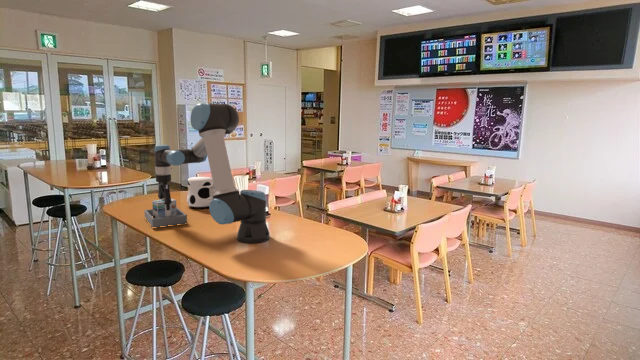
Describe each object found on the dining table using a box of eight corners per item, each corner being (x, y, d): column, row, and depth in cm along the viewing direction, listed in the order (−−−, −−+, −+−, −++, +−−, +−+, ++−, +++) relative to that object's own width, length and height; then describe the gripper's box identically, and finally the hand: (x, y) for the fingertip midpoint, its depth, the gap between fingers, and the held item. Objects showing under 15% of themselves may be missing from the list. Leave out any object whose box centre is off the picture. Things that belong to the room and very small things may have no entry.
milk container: (185, 204, 248) (184, 177, 245) (213, 202, 256) (212, 175, 253) (188, 210, 233) (187, 181, 230) (218, 208, 240) (217, 180, 237)
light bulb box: (158, 222, 203) (157, 202, 201) (152, 220, 207) (151, 200, 206) (177, 219, 211) (176, 199, 209) (171, 216, 215) (170, 197, 213)
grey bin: (187, 224, 205) (186, 215, 204) (152, 229, 195) (152, 219, 194) (176, 215, 223) (176, 206, 222) (144, 218, 213) (144, 210, 212)
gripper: (176, 176, 197) (178, 217, 200) (165, 170, 217) (167, 207, 220) (160, 178, 192) (162, 219, 196) (151, 171, 213) (153, 209, 216)
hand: (165, 213), depth 208 cm, fingers open, 13 cm apart
